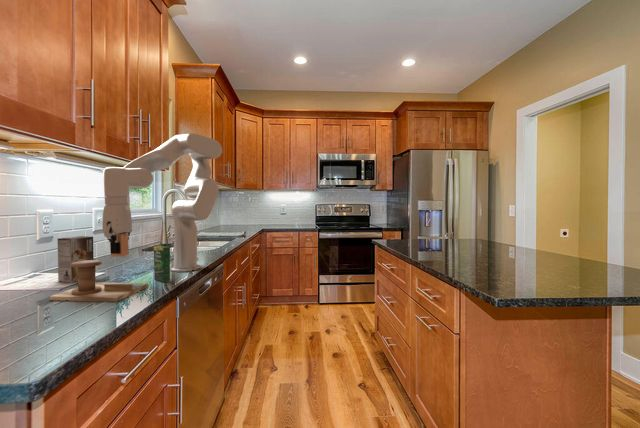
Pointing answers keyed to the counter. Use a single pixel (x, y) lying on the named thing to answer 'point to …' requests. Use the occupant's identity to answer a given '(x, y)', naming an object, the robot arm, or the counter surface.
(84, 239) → the coffee box
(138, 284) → the board
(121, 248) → the tab block
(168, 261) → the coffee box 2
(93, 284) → the bobbin
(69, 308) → the counter surface
